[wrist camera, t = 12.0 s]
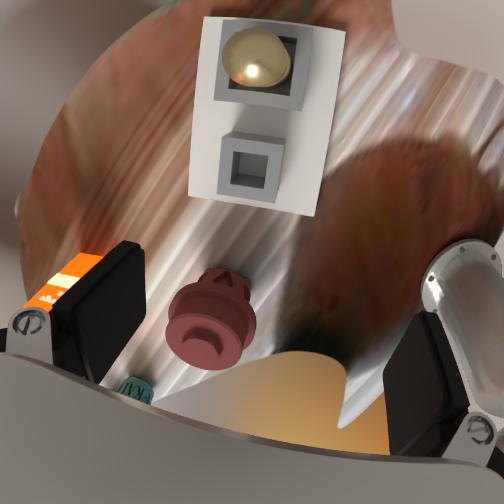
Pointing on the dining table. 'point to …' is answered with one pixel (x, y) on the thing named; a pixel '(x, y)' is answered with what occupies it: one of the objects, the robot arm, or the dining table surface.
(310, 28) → the plate
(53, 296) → the orange juice
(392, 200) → the dining table surface
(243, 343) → the mechanical component
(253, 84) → the brass pipe fitting
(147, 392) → the beverage bottle
